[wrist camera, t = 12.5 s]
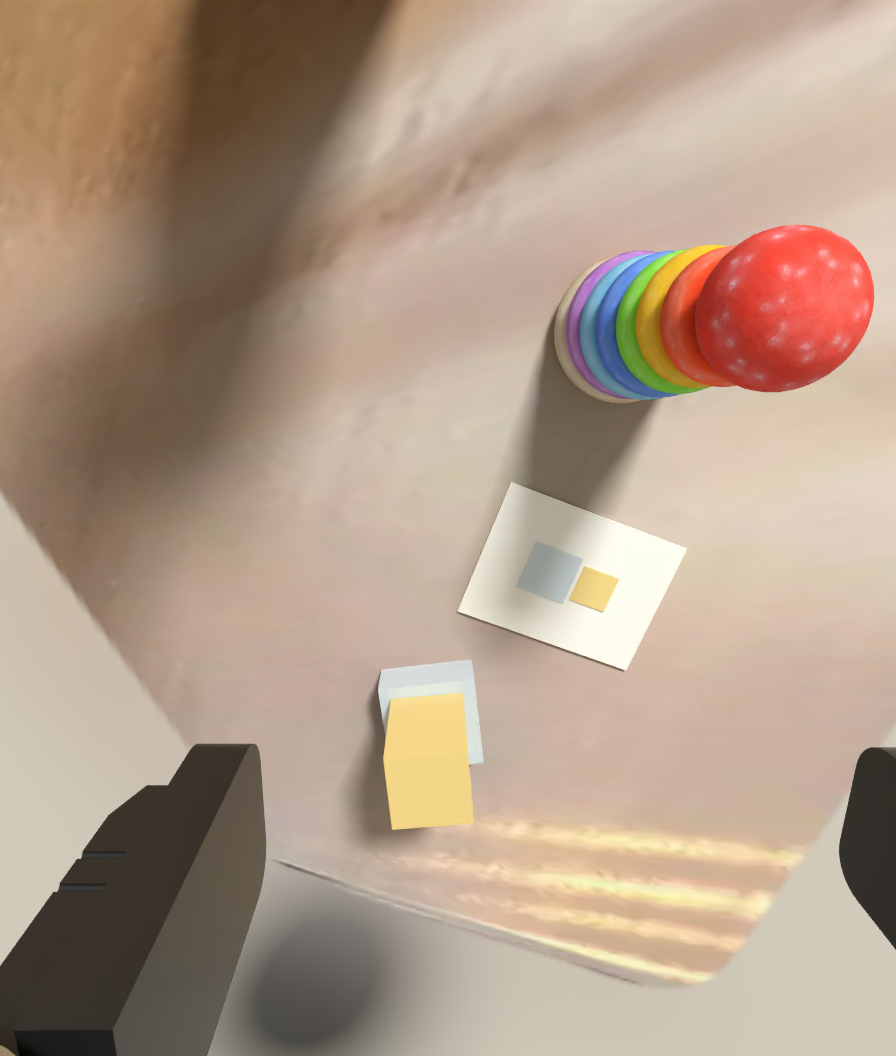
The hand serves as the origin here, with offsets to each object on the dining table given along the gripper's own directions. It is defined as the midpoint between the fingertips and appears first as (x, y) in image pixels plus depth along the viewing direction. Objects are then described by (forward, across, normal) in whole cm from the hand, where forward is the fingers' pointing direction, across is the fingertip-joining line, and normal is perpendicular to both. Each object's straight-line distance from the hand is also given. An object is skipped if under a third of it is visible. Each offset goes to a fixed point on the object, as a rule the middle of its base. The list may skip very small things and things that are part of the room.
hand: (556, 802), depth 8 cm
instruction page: (+30, -7, +8) cm, 32 cm away
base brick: (+30, +2, +17) cm, 35 cm away
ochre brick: (+28, +2, +17) cm, 32 cm away
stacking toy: (+30, -9, -8) cm, 32 cm away
